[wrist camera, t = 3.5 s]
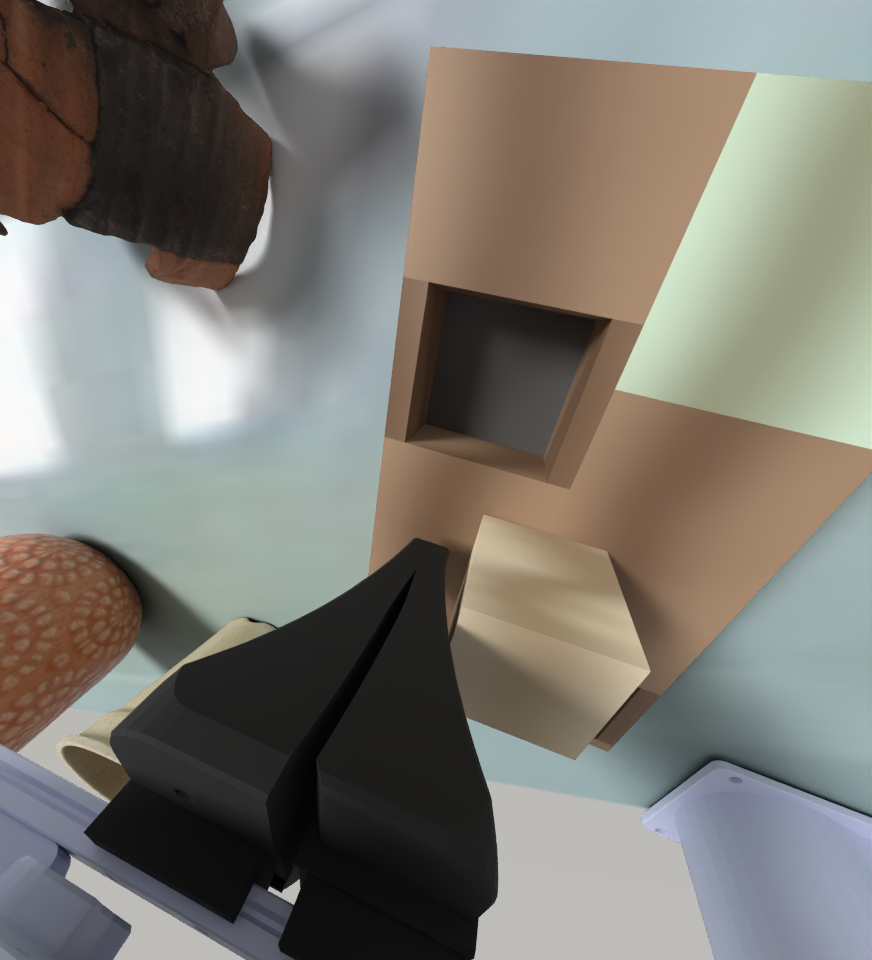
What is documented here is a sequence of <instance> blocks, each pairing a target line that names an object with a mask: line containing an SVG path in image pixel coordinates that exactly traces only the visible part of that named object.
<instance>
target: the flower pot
mask: <svg viewBox="0 0 872 960" xmlns="http://www.w3.org/2000/svg"><path fill="white" fill-rule="evenodd" d="M275 629H276V628H274V627H272V626H271V625H269V624H267V623H254V622H250V621H249V620H248V618H237V619H234V620H232V621H231V622H229V623H228V624H227V625H226V626H225V627H224V628H222V629H221V630H220V631H218V632H217V633H216V634H215V635H213V636H212V637H211V638H210V639H208V640H207V641H206V642H205V643H204V644H202V645H201V646H200V647H198V648H197V649H196V650H195V651H193V652H192V653H191V654H190V655H188V656H187V657H186V658H184V659H183V660H182V661H181V662H179V663H178V664H177V665H175V666H174V667H173V668H172V669H170V670H169V671H168V672H166V673H165V674H164V675H163V676H161V677H160V678H159V679H157V680H156V681H155V682H154V683H152V684H151V685H150V686H149V687H147V688H146V689H145V690H143V691H142V692H141V693H140V694H138V695H137V696H136V697H134V698H133V699H132V700H131V701H129V702H128V703H127V704H125V705H124V706H123V707H122V708H120V709H119V710H116V711H112V712H109V713H107V714H106V715H105V716H103V717H102V718H101V719H100V720H98V721H97V722H96V723H95V724H93V725H92V726H91V727H89V728H88V729H86V730H85V731H84V732H82V733H81V734H80V735H70V736H67V737H65V738H64V739H63V740H61V741H60V742H59V743H58V745H57V752H58V754H59V757H60V758H61V760H62V761H63V762H64V764H65V765H66V766H67V767H68V768H69V769H70V770H71V771H72V772H73V773H74V774H75V775H76V776H77V777H78V778H79V779H80V780H81V781H82V782H83V783H84V784H86V785H87V786H88V787H89V788H90V789H92V790H93V791H94V792H95V793H96V794H98V795H99V796H100V797H102V798H103V799H104V800H106V801H107V802H109V803H110V802H111V801H112V799H113V798H114V797H115V796H116V795H117V794H118V793H119V792H120V790H121V789H122V788H123V787H124V786H125V785H126V784H127V783H128V781H129V780H130V777H129V776H128V774H127V773H126V771H125V770H124V768H123V766H122V765H121V763H120V762H119V760H118V758H117V757H116V755H115V754H114V752H113V750H112V748H111V746H110V736H111V731H112V730H113V729H114V728H115V727H116V726H117V725H118V724H119V723H120V722H121V721H122V720H124V719H125V718H126V717H127V716H128V715H129V714H130V713H131V712H132V711H133V710H134V709H135V708H136V707H137V706H138V705H139V704H140V703H141V702H142V701H143V700H144V699H145V698H146V697H147V696H148V695H149V694H151V693H152V692H153V691H154V690H155V689H156V688H157V687H158V686H159V685H160V684H161V683H162V682H163V681H165V680H166V679H167V678H168V677H169V676H171V675H172V674H173V673H174V672H176V671H177V670H178V669H179V668H180V667H181V666H182V665H184V664H186V663H189V662H192V661H195V660H198V659H201V658H204V657H206V656H209V655H212V654H215V653H218V652H220V651H223V650H226V649H229V648H231V647H234V646H237V645H239V644H242V643H245V642H247V641H250V640H252V639H254V638H256V637H259V636H261V635H263V634H266V633H268V632H270V631H273V630H275Z"/></svg>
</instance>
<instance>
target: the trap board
mask: <svg viewBox="0 0 872 960" xmlns="http://www.w3.org/2000/svg"><path fill="white" fill-rule="evenodd" d="M871 472H872V82H861V81H849V80H837V79H824V78H812V77H800V76H788V75H775V74H763V73H751V72H739V71H727V70H714V69H702V68H690V67H678V66H666V65H653V64H641V63H629V62H617V61H605V60H592V59H580V58H568V57H556V56H544V55H531V54H519V53H507V52H495V51H483V50H470V49H458V48H446V47H434V46H430V54H429V63H428V71H427V80H426V88H425V97H424V105H423V114H422V122H421V131H420V139H419V148H418V156H417V165H416V173H415V182H414V190H413V199H412V208H411V216H410V225H409V233H408V242H407V250H406V259H405V267H404V276H403V284H402V293H401V301H400V310H399V318H398V327H397V335H396V344H395V353H394V361H393V370H392V378H391V387H390V395H389V404H388V412H387V421H386V429H385V438H384V446H383V455H382V463H381V472H380V480H379V489H378V497H377V506H376V515H375V523H374V532H373V540H372V549H371V557H370V566H369V574H368V576H370V575H371V574H373V573H374V572H375V571H376V570H378V569H379V568H380V567H382V566H383V565H384V564H385V563H387V562H388V561H389V560H390V559H392V558H393V557H394V556H395V555H396V554H397V553H399V552H400V551H401V550H402V549H403V548H404V547H405V546H406V545H407V544H408V543H409V542H410V541H411V540H412V539H414V538H419V539H422V540H425V541H429V542H432V543H435V544H438V545H441V546H444V547H447V548H448V550H449V555H448V559H447V563H446V574H445V601H446V615H447V626H448V633H449V629H450V625H451V622H452V618H453V614H454V610H455V606H456V602H457V598H458V595H459V591H460V588H461V585H462V582H463V579H464V575H465V572H466V569H467V566H468V562H469V559H470V556H471V553H472V550H473V546H474V543H475V540H476V537H477V534H478V530H479V527H480V524H481V521H482V518H483V514H484V515H488V516H491V517H494V518H498V519H501V520H504V521H508V522H511V523H515V524H518V525H521V526H525V527H528V528H531V529H535V530H538V531H541V532H545V533H548V534H551V535H555V536H558V537H561V538H565V539H568V540H571V541H575V542H578V543H581V544H585V545H588V546H591V547H595V548H598V549H601V550H605V551H607V552H608V555H609V558H610V561H611V563H612V566H613V569H614V572H615V574H616V577H617V580H618V583H619V585H620V588H621V591H622V594H623V596H624V599H625V602H626V605H627V607H628V610H629V613H630V616H631V618H632V621H633V624H634V627H635V629H636V632H637V635H638V638H639V640H640V643H641V646H642V649H643V651H644V654H645V657H646V660H647V662H648V665H649V668H650V671H651V672H650V673H649V674H648V676H647V677H646V678H645V679H644V680H643V681H642V683H641V684H640V685H639V686H638V687H637V688H636V689H635V691H634V692H633V693H632V694H631V695H630V696H629V698H628V699H627V700H626V701H625V702H624V703H623V705H622V706H621V707H620V708H619V709H618V710H617V712H616V713H615V714H614V715H613V716H612V717H611V719H610V720H609V721H608V722H607V723H606V724H605V726H604V727H603V728H602V729H601V730H600V731H599V733H598V734H597V735H596V736H595V737H594V738H593V740H592V741H591V742H590V743H589V744H591V745H593V746H596V747H598V748H601V749H603V750H606V751H609V750H610V749H611V748H612V747H613V746H614V745H615V743H616V742H617V741H618V740H619V739H620V738H621V737H622V736H623V735H624V734H625V733H626V732H627V731H628V730H629V729H630V728H631V726H632V725H633V724H634V723H635V722H636V721H637V720H638V719H639V718H640V717H641V716H642V715H643V714H644V713H645V712H646V711H647V710H648V708H649V707H650V706H651V705H652V704H653V703H654V702H655V701H656V700H657V699H658V698H659V697H660V696H661V695H662V694H663V693H664V691H665V690H666V689H667V688H668V687H669V686H670V685H671V684H672V683H673V682H674V681H675V680H676V679H677V678H678V677H679V676H680V675H681V673H682V672H683V671H684V670H685V669H686V668H687V667H688V666H689V665H690V664H691V663H692V662H693V661H694V660H695V659H696V658H697V656H698V655H699V654H700V653H701V652H702V651H703V650H704V649H705V648H706V647H707V646H708V645H709V644H710V643H711V642H712V641H713V640H714V638H715V637H716V636H717V635H718V634H719V633H720V632H721V631H722V630H723V629H724V628H725V627H726V626H727V625H728V624H729V623H730V621H731V620H732V619H733V618H734V617H735V616H736V615H737V614H738V613H739V612H740V611H741V610H742V609H743V608H744V607H745V606H746V605H747V603H748V602H749V601H750V600H751V599H752V598H753V597H754V596H755V595H756V594H757V593H758V592H759V591H760V590H761V589H762V588H763V586H764V585H765V584H766V583H767V582H768V581H769V580H770V579H771V578H772V577H773V576H774V575H775V574H776V573H777V572H778V571H779V570H780V568H781V567H782V566H783V565H784V564H785V563H786V562H787V561H788V560H789V559H790V558H791V557H792V556H793V555H794V554H795V553H796V551H797V550H798V549H799V548H800V547H801V546H802V545H803V544H804V543H805V542H806V541H807V540H808V539H809V538H810V537H811V536H812V535H813V533H814V532H815V531H816V530H817V529H818V528H819V527H820V526H821V525H822V524H823V523H824V522H825V521H826V520H827V519H828V518H829V516H830V515H831V514H832V513H833V512H834V511H835V510H836V509H837V508H838V507H839V506H840V505H841V504H842V503H843V502H844V501H845V500H846V498H847V497H848V496H849V495H850V494H851V493H852V492H853V491H854V490H855V489H856V488H857V487H858V486H859V485H860V484H861V483H862V481H863V480H864V479H865V478H866V477H867V476H868V475H869V474H870V473H871Z"/></svg>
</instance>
